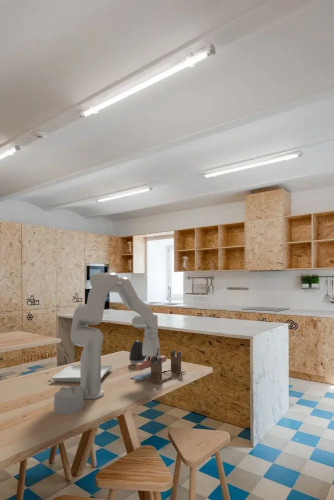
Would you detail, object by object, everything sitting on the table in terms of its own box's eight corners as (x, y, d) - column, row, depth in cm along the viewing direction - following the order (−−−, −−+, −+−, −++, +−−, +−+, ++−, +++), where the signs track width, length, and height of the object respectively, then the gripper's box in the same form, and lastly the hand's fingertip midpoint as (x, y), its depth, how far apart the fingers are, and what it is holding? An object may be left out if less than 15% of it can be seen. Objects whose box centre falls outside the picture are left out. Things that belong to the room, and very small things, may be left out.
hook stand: (158, 384, 176) (158, 359, 177) (146, 381, 181) (146, 357, 182) (185, 373, 196) (184, 351, 197) (174, 371, 201) (173, 349, 202)
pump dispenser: (144, 366, 211) (144, 341, 212) (128, 366, 211) (128, 342, 213) (146, 362, 221) (146, 339, 223) (130, 362, 222) (130, 339, 223)
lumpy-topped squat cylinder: (50, 412, 140) (50, 391, 141) (68, 401, 153) (68, 382, 153) (72, 415, 137) (72, 393, 138) (88, 404, 150) (89, 384, 150)
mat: (141, 381, 182) (141, 380, 182) (130, 378, 187) (130, 377, 187) (171, 369, 203) (171, 369, 203) (160, 367, 208) (160, 367, 208)
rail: (139, 370, 185) (139, 364, 185) (135, 369, 187) (135, 364, 187) (166, 361, 204) (166, 356, 204) (162, 360, 206) (162, 355, 206)
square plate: (113, 371, 204) (113, 364, 204) (100, 385, 176) (100, 377, 177) (70, 370, 206) (70, 363, 207) (50, 384, 179) (50, 376, 179)
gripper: (136, 335, 199) (136, 367, 197) (158, 338, 189) (158, 371, 188) (144, 333, 205) (145, 364, 203) (166, 336, 195) (166, 368, 193)
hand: (151, 367), depth 195 cm, fingers closed on rail, 3 cm apart
